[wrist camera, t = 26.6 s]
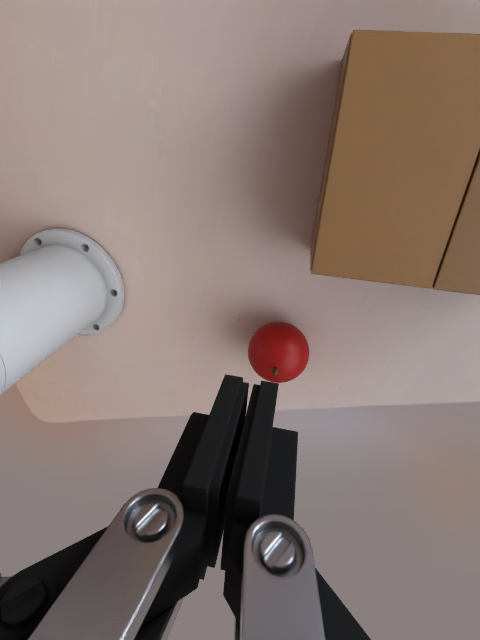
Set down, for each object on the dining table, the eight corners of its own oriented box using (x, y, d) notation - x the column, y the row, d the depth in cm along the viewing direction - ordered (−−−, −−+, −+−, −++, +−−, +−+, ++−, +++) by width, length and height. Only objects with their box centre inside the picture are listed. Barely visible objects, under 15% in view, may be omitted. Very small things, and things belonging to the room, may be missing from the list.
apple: (250, 356, 40) (239, 395, 33) (255, 308, 37) (244, 340, 31) (304, 365, 39) (303, 406, 33) (314, 316, 36) (314, 351, 30)
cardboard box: (310, 250, 33) (310, 274, 27) (342, 58, 26) (352, 28, 20) (513, 274, 31) (566, 306, 24) (606, 69, 24) (715, 39, 17)
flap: (311, 272, 27) (311, 273, 27) (352, 31, 20) (353, 29, 20) (429, 286, 26) (431, 288, 25) (515, 37, 19) (519, 35, 19)
